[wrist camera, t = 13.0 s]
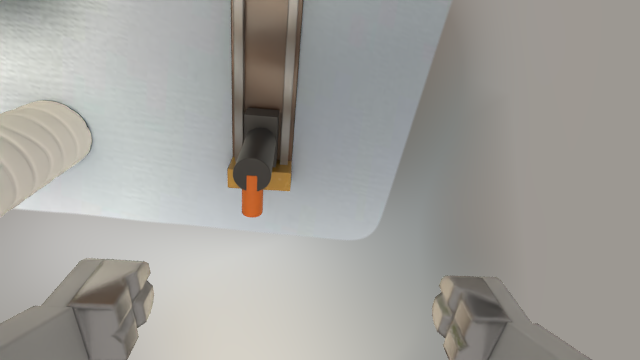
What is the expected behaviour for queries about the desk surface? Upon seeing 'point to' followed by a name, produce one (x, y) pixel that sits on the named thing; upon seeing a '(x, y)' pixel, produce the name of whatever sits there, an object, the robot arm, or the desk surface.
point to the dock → (278, 177)
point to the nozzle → (256, 158)
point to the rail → (265, 65)
